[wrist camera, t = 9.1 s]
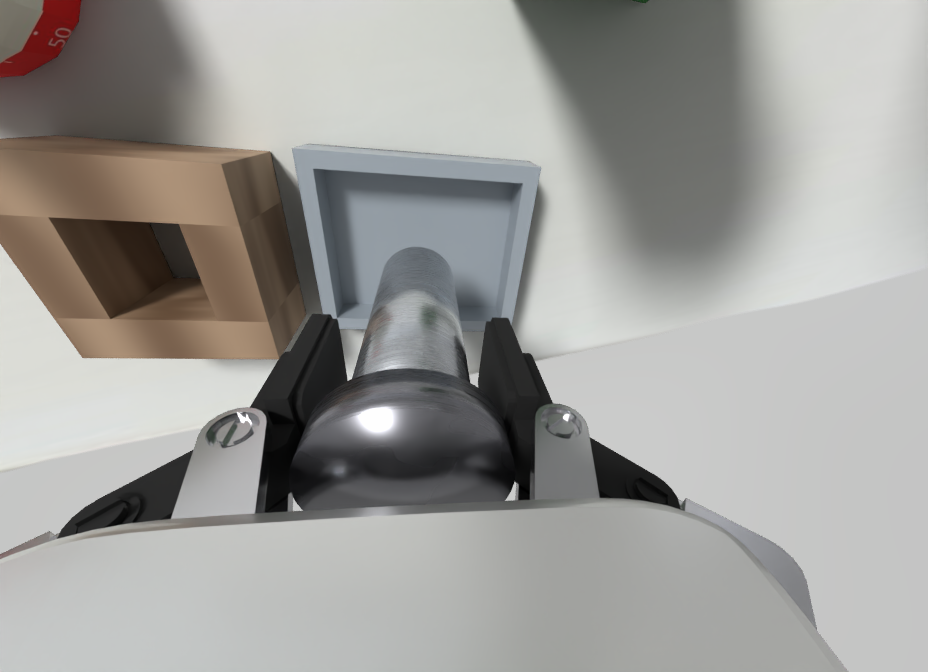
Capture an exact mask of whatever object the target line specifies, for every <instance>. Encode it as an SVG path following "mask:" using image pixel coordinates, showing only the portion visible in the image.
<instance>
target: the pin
mask: <svg viewBox="0 0 928 672" xmlns="http://www.w3.org/2000/svg"><path fill="white" fill-rule="evenodd" d="M514 480H515V464H514V460H513V456H512V452H511V448H510V444H509V440H508V436H507V432H506V428H505V424H504V421H503V417H502V415H501V413H500V411H499V409H498V407H497V406H496V404H495V403H494V402H493V400H492V399H491V398H490V397H489V396H488V395H487V394H486V393H484V392H483V391H482V390H480V389H479V388H477V387H476V386H475V385H472V384H471V383H470V379H469V372H468V366H467V360H466V354H465V347H464V341H463V335H462V329H461V323H460V316H459V310H458V304H457V298H456V292H455V285H454V279H453V273H452V270H451V268H450V266H449V264H448V262H447V261H446V260H445V259H444V258H443V257H442V256H441V255H440V254H438V253H437V252H435V251H433V250H431V249H428V248H424V247H408V248H405V249H402V250H400V251H398V252H396V253H395V254H394V255H392V256H391V257H390V258H389V259H388V261H387V262H386V264H385V266H384V269H383V272H382V275H381V279H380V282H379V286H378V290H377V293H376V297H375V300H374V304H373V307H372V311H371V314H370V318H369V321H368V325H367V328H366V332H365V335H364V339H363V342H362V346H361V349H360V353H359V356H358V360H357V363H356V367H355V370H354V374H353V378H352V379H351V380H349V381H347V382H345V383H343V384H341V385H340V386H338V387H336V388H335V389H333V390H332V391H331V392H329V393H328V394H327V395H326V396H325V397H324V398H323V399H322V400H321V401H320V402H319V403H318V404H317V405H316V407H315V408H314V410H313V411H312V413H311V415H310V417H309V419H308V422H307V424H306V427H305V430H304V432H303V435H302V437H301V440H300V442H299V445H298V448H297V450H296V453H295V455H294V458H293V460H292V463H291V466H290V470H289V487H290V491H291V494H292V496H293V498H294V499H295V501H296V502H297V504H298V505H299V506H300V507H301V509H302V510H303V511H309V510H328V509H347V508H367V507H387V506H407V505H428V504H449V503H471V502H494V501H505V500H506V498H507V497H508V495H509V493H510V492H511V490H512V487H513V484H514Z"/></svg>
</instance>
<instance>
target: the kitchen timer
mask: <svg viewBox="0 0 928 672" xmlns="http://www.w3.org/2000/svg"><path fill="white" fill-rule="evenodd" d="M80 5H81V0H0V77H10V76H24V75H26V74H27V73H29V72H31V71H33V70H34V69H36V68H38V67H40V66H42V65H43V64H45V63H47V62H49V61H50V60H52V59H54V58H56V57H57V56H58V55H59V53H60V52H61V50H62V48H63V47H64V45H65V43H66V42H67V40H68V38H69V37H70V35H71V33H72V31H73V30H74V28H75V26H76V25H77V23H78V21H79V14H80Z"/></svg>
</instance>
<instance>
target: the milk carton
mask: <svg viewBox="0 0 928 672" xmlns="http://www.w3.org/2000/svg"><path fill="white" fill-rule="evenodd" d="M633 1H637V2H641V3H646V2H647V1H649V0H633Z"/></svg>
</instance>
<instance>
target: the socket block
mask: <svg viewBox="0 0 928 672" xmlns="http://www.w3.org/2000/svg"><path fill="white" fill-rule="evenodd" d="M149 222H154V223H174V224H179V226H180V229H181V231H182V234H183V236H184V239H185V241H186V244H187V246H188V249H189V251H190V254H191V256H192V259H193V261H194V264H195V266H196V269H197V271H198V274H199V276H200V279H194V278H173V275H172V273H171V271H170V269H169V266H168V264H167V262H166V260H165V257H164V255H163V253H162V251H161V249H160V246H159V244H158V242H157V240H156V237H155V235H154V233H153V231H152V228H151V226H150V224H149ZM0 244H1V245H2V247H3V248H4V250H5V251H6V252H7V254H8V255H9V257H10V258H11V259H12V261H13V262H14V263H15V265H16V266H17V268H18V269H19V270H20V272H21V273H22V275H23V276H24V277H25V279H26V280H27V281H28V283H29V284H30V286H31V287H32V288H33V290H34V291H35V293H36V294H37V295H38V297H39V298H40V300H41V301H42V302H43V304H44V305H45V306H46V308H47V309H48V311H49V312H50V313H51V315H52V316H53V318H54V319H55V320H56V322H57V323H58V324H59V326H60V327H61V329H62V330H63V331H64V333H65V334H66V336H67V337H68V338H69V340H70V341H71V343H72V344H73V345H74V347H75V348H76V349H77V351H78V352H79V354H80V355H81V356H82V358H171V359H280V357H281V355H282V354H283V352H284V351H285V349H286V347H287V346H288V344H289V342H290V341H291V339H292V337H293V336H294V334H295V332H296V331H297V329H298V327H299V326H300V324H301V323H302V321H303V319H304V318H305V316H306V312H305V307H304V303H303V298H302V294H301V289H300V284H299V280H298V275H297V271H296V266H295V262H294V257H293V253H292V248H291V244H290V239H289V235H288V230H287V225H286V221H285V216H284V212H283V207H282V203H281V198H280V194H279V189H278V185H277V180H276V176H275V171H274V166H273V162H272V157H271V153H270V152H269V151H256V150H243V149H229V148H216V147H203V146H189V145H176V144H163V143H150V142H136V141H123V140H110V139H96V138H83V137H70V136H57V135H53V136H38V137H22V138H7V139H0Z"/></svg>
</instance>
